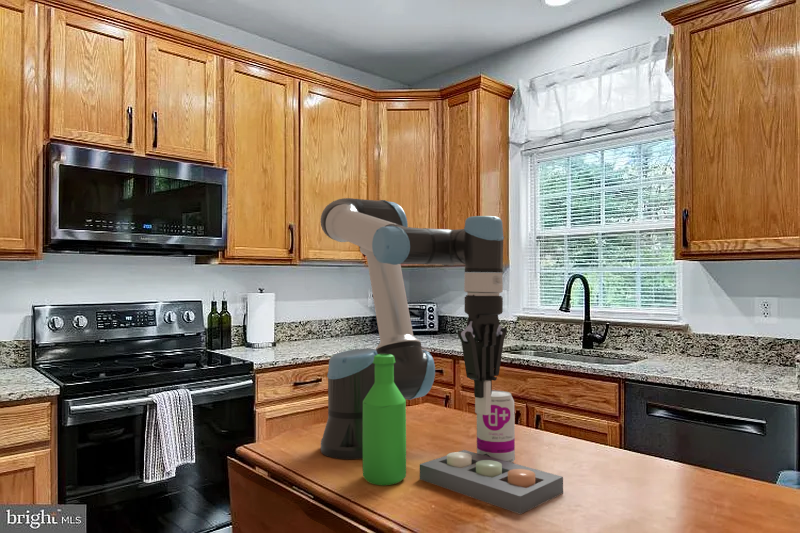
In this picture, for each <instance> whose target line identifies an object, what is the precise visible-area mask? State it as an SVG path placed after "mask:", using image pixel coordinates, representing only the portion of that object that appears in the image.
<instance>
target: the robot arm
mask: <svg viewBox="0 0 800 533" xmlns="http://www.w3.org/2000/svg"><path fill="white" fill-rule="evenodd" d="M402 207H403V206H401V205H400V204H398V203H397V202H394V201H388V200H384V199H382V200H381V199H380V200H374V199H362V198H348V197H347V198H346V197H345V198H338V199H336V200H333V201H331V202H330V203H329V204H327V205H326V206H325V207H324V209H323V211H322V212H321V215H320V226H321V227H320V228H321V229H322V231H323V233H324V234H325V235H326V236H327V237H328V238H329V239H332V240H333V241H336V242H339V243H347V242H349V243H351V244H353V245H355V246H357V247H359V252H360V253H361V254H363V255H364V256H366V261H367V268H368V272H369V279H370V280H369V281H370V286H371V292H372V298H373V304H374V309H375V315H376V322H377V329H378V334H379V336H378V337H379V341H380V342H379V344H378V345H377V347H376V348H370V347H369V348H367V347H366V348H365V347H364V348H354V349H349V350H344V351H340V352H337V353H335V354H333V355H332V356H330V358H329V360H328V371H327V375H326V376H327V399H328V400H327V402H328V403H327V408H328V411H327V413H328V414H327V416H328V418H327V420H326V424H325V427H324V431H323V435H322V438H321V440H320V452H321V454H322V455H324V456H326V457H330V458H333V459H340V460H359V459H363V400H364V399H365V397H366V396H367V394H368V392H369V391H370V389H371V388H372V386H373V385H374V383H375V364H374V363H373V360H374V356H375V355H378V354H391V355H393V356H394V358H395V363H394V383H395V385H396V386H397V388H398V389H399V391H400V392H401V394H402V395H403V397H404V399H405V400H408V401H409V400H414V399H417V398H422V397H425V396H426V395H427V394H428V393H429V392H430V391H431V389H432V387H433V384H434V381H435V377H436V365H435V360H434V358H433V356H432V354H431V353H430V352H429V351H427V350H425V349H423V348H422V342H421V340H419V339H418V338H417V337H415V336H414V332H413V326H412V321H411V315H410V310H409V305H408V303H409V302H408V298H407V293H406V288H405V287H406V286H405V282H404V276H403V272H402V271H403V270H402V266H401V265H437V266H439V265H440V266H450V267H451V266H462V265H464V289H463V290H464V292H465V293H466V295H465V296H464V313H465V314H467V315H468V317H467V320H466V327H465V328H464V330H459V331H458V332H457V335H458V338H459V340H460V342H461V348H462V354H463V360H464V366H465V374H466V378H468V379H469V380H472V381H474V385H473V386H474V387H473V388H474V389H473V395H474V397H475V398H474V399H475V400H474V402H475V403H474V413H475V414H477V413H479V414H483V415H489V414H491V393H492V391H493V390H492V386H493V385H492V382H493V381H497V379H498V378H497V376H499V375H500V369H501V363H502V356H503V350H504V349H503V348H504V342H505V338H506V336H507V332H508V328H507V327H502V326H501V325H500V319H499V315H501V314H503V312H504V311H503V310H504V309H503V306H504V304H503V302H504V301H503V300H504V299H503V296H502V295H500V294H502V293H503V288H504V287H503V285H504V284H503V272H504V271H503V270H504V269H503V268H504V240H505V236H504V227H503V224H504V223H503V221H502V219H501V217H498V216H492V215H475V216H473V215H472V216H469V217H467V218H466V219H465V220H464V227H463V228H459V229H457V228H456V229H446V228H426V227H425V228H424V227H422V228H421V227H410V226H409V225H408V224H409V223H408V218H407V214H406V213H405V211H404V209H403V208H402Z"/></svg>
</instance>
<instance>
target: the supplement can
mask: <svg viewBox="0 0 800 533" xmlns="http://www.w3.org/2000/svg"><path fill="white" fill-rule="evenodd" d="M515 427H516V426H515V399H514V398H513V396H512V393H511V392H509V391H504V390H492V393H491V414H489V415H483V414H479V413H476V453H478V454H481V455H485V456H489V457H492V458H496V459H500V460H503V461H507V462H511V463H514V462H515V460H516V452H515V451H516V443H515V441H516V438H515V436H516V435H515V434H516V433H515V432H516V431H515V430H516V428H515Z"/></svg>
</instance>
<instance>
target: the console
mask: <svg viewBox="0 0 800 533" xmlns="http://www.w3.org/2000/svg"><path fill="white" fill-rule="evenodd" d="M458 452H464V453H468V454H470V455H471V456H472V465H469V466H466V467H464V468H458V467H455V466H452V465H448V464H447V455H443V456H440V457H437V458H435V459H432V460H428V461H426V462H422V463H420V464H419V480H421V481H424V482H427V483H430V484H432V485H435V486H438V487H441V488H444V489H446V490H449V491H452V492H455V493H458V494H461V495H464V496H467V497H469V498H473V499H475V500H479V501H480V502H484V503H487V504H490V505H493V506H495V507H499V508H500V509H505V510H507V511H510V512H513V513H516V514H519V515H521V514H524V513H526V512H529V511H530V510H532V509H533V508H536V507H538V506H540V505H541V504H544V503H546V502H548V501H550V500H552V499H554V498H557V497H558V496H560V495H562V494H563V493H564V476H563V475H558V474H554V473H550V472H547V471H543V470H539V469H537V468H533V467H529V466H525V465H521V464H518V463H514V462H512V463H511V462H507V461H503V460H500V459H496V458H492V457H489V456H485V455H481V454H478V453H477V452H473V451H471V450H467V449H463V450H459V451H458ZM482 460H493V461H497V462H500V463H501V464H502V474H500V475H498V476H495V477H493V478H491V477H488V476H484V475H481V474H478V473H476V462H478V461H482ZM512 469H526V470H530V471H533V472H534V473H535V484H534V485H532V486H530V487H528V488H524V487H521V486H517V485H514V484H511V483H508V471H509V470H512Z"/></svg>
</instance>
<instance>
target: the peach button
mask: <svg viewBox="0 0 800 533" xmlns="http://www.w3.org/2000/svg"><path fill="white" fill-rule="evenodd" d="M508 483H511V484H514V485H517V486H521V487H524V488H528V487H530V486H532V485H534V484H535V473H534V472H533V471H530V470H526V469H512V470H509V471H508Z"/></svg>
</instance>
